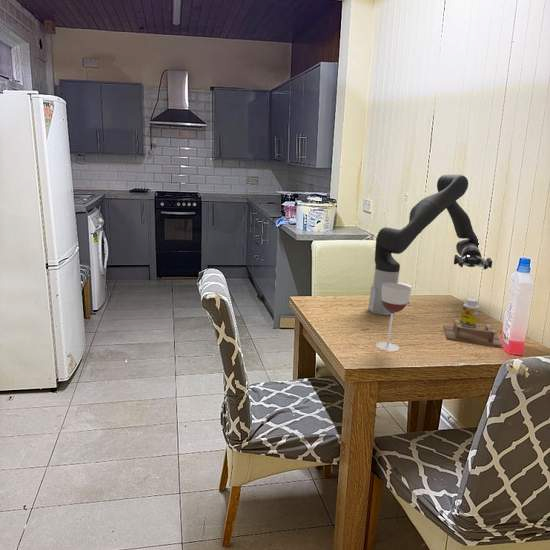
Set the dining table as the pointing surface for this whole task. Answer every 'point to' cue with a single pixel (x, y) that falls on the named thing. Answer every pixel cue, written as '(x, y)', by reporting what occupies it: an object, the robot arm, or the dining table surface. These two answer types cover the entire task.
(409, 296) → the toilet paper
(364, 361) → the dining table surface
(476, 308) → the supplement bottle
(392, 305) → the wineglass
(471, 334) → the flat brown tray
